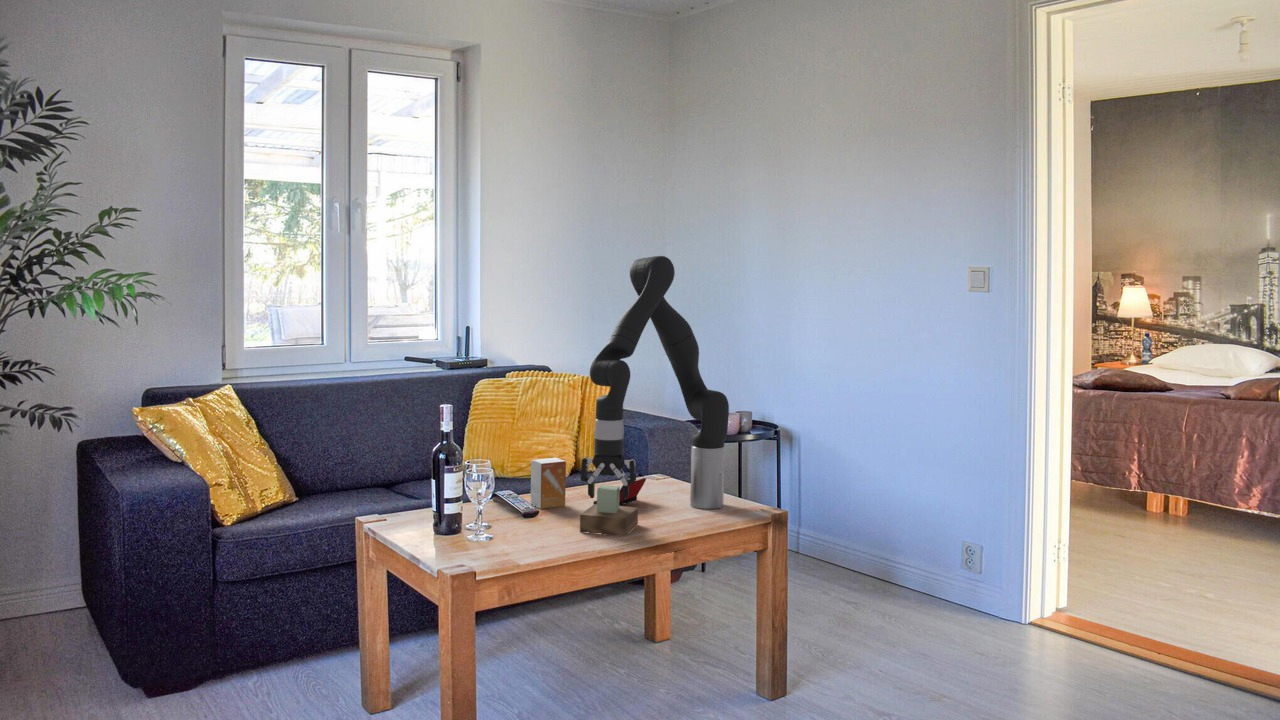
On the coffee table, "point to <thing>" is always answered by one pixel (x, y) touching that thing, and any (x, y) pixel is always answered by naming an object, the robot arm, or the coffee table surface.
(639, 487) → the handheld game console
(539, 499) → the small box
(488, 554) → the coffee table surface
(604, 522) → the walnut base
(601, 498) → the green block
